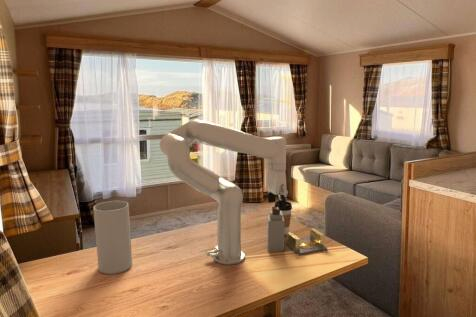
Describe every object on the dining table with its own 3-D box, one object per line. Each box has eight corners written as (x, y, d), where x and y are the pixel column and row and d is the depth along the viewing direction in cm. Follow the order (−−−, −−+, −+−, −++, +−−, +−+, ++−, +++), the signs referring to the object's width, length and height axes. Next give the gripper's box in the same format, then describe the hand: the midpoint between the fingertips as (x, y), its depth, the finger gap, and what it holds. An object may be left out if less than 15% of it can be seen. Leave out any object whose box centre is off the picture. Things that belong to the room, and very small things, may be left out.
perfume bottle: (283, 250, 153) (284, 210, 149) (268, 250, 153) (268, 210, 150) (282, 244, 159) (283, 205, 156) (267, 244, 159) (267, 205, 156)
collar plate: (298, 255, 148) (299, 241, 147) (283, 243, 160) (284, 230, 159) (327, 250, 153) (327, 236, 152) (310, 238, 165) (311, 226, 164)
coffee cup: (271, 230, 175) (271, 200, 173) (286, 228, 178) (287, 199, 175) (278, 236, 168) (278, 206, 165) (294, 234, 170) (295, 204, 167)
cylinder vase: (138, 261, 144) (134, 202, 139) (120, 276, 132) (115, 212, 127) (111, 258, 147) (107, 199, 142) (91, 272, 135) (86, 209, 131)
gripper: (260, 163, 156) (260, 200, 159) (278, 171, 140) (278, 212, 144) (275, 161, 159) (275, 198, 162) (295, 169, 143) (294, 210, 146)
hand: (276, 205), depth 153 cm, fingers open, 9 cm apart
